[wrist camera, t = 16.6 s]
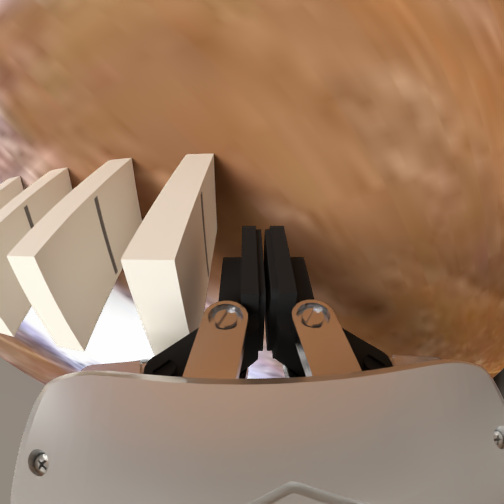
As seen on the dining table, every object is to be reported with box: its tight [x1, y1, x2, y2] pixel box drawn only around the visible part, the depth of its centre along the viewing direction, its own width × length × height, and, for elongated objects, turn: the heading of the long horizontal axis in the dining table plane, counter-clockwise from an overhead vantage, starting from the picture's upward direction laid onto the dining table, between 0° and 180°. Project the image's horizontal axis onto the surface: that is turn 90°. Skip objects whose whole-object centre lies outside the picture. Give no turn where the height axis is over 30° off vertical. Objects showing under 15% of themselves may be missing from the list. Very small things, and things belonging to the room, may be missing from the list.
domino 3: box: [0, 168, 73, 337], centre depth 13 cm, size 2×5×10 cm, turn 179°
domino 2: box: [7, 158, 142, 351], centre depth 13 cm, size 2×5×10 cm, turn 179°
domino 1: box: [120, 154, 217, 356], centre depth 13 cm, size 2×5×10 cm, turn 0°
